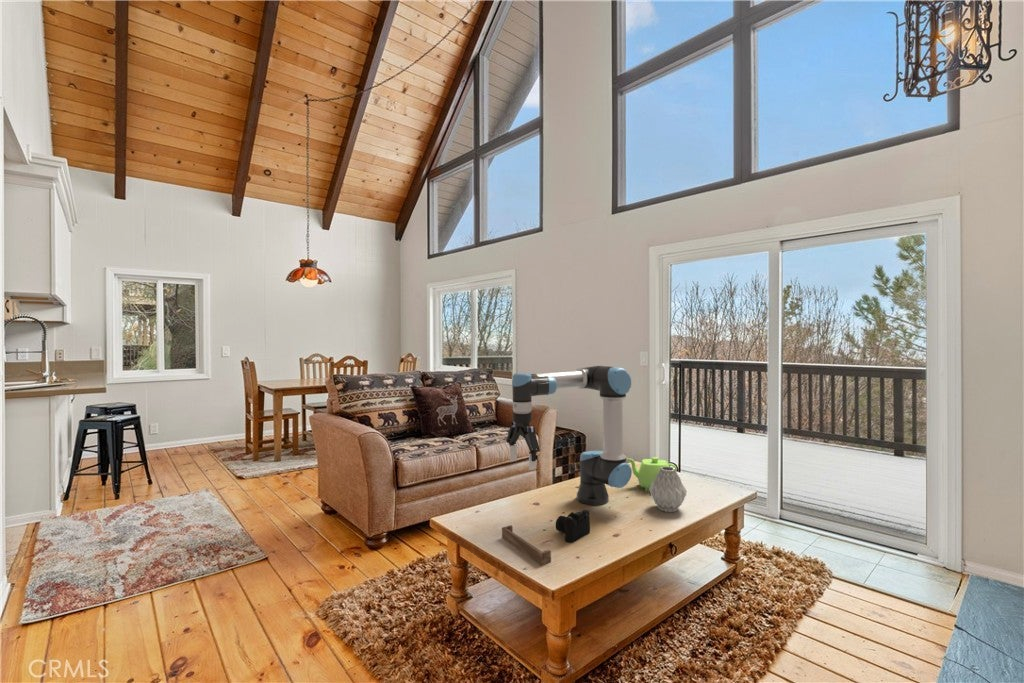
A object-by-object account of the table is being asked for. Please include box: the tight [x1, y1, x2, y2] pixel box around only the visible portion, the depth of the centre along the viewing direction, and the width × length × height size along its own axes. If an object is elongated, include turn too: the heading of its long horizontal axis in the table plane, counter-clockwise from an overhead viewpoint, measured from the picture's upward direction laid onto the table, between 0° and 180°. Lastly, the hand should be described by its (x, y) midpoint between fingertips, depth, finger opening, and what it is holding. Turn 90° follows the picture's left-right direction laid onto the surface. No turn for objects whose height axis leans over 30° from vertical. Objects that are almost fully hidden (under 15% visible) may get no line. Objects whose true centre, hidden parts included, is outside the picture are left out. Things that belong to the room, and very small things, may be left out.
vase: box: [649, 466, 688, 513], centre depth 212 cm, size 16×16×18 cm
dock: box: [501, 524, 552, 566], centre depth 175 cm, size 4×26×4 cm, turn 33°
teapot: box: [626, 456, 678, 492], centre depth 243 cm, size 25×22×16 cm
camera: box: [555, 509, 591, 544], centre depth 187 cm, size 14×11×10 cm
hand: (522, 465), depth 187 cm, fingers open, 13 cm apart
